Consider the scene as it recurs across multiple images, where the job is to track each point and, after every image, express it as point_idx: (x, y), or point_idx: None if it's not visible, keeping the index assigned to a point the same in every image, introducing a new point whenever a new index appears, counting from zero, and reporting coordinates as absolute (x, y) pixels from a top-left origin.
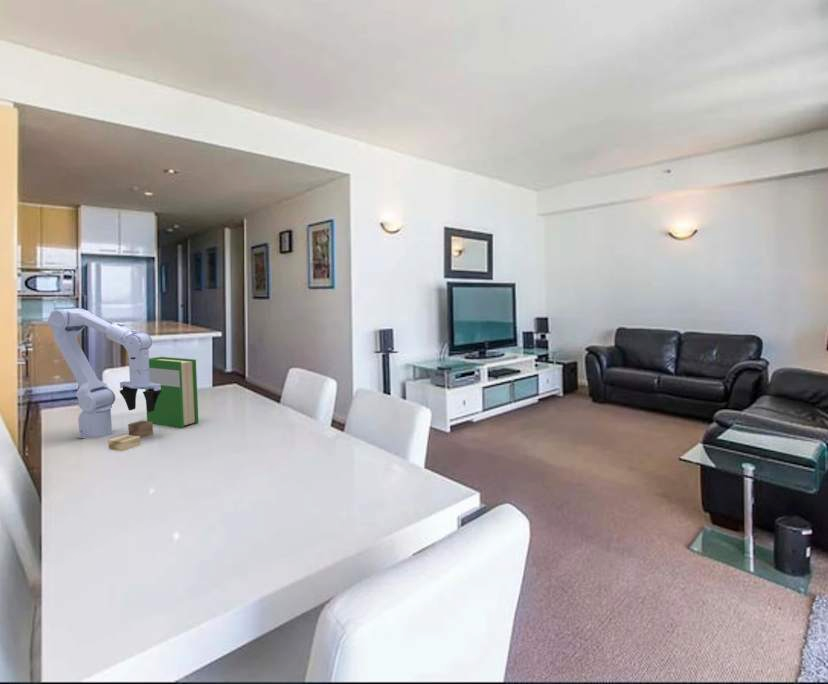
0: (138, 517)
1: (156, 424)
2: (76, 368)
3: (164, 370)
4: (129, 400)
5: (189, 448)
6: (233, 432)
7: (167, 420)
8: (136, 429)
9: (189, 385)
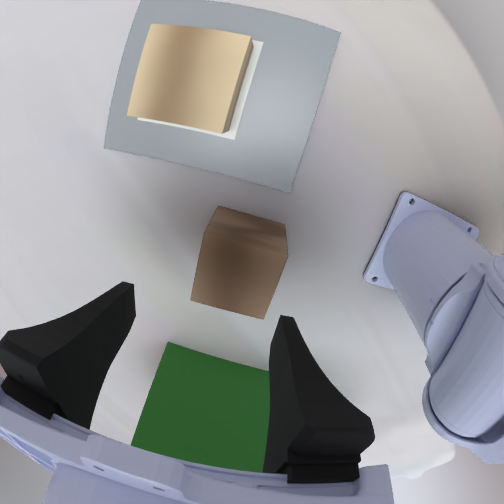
0: None
1: None
2: None
3: None
4: (285, 372)
5: (12, 149)
6: (22, 298)
7: (230, 378)
8: (230, 229)
9: None
